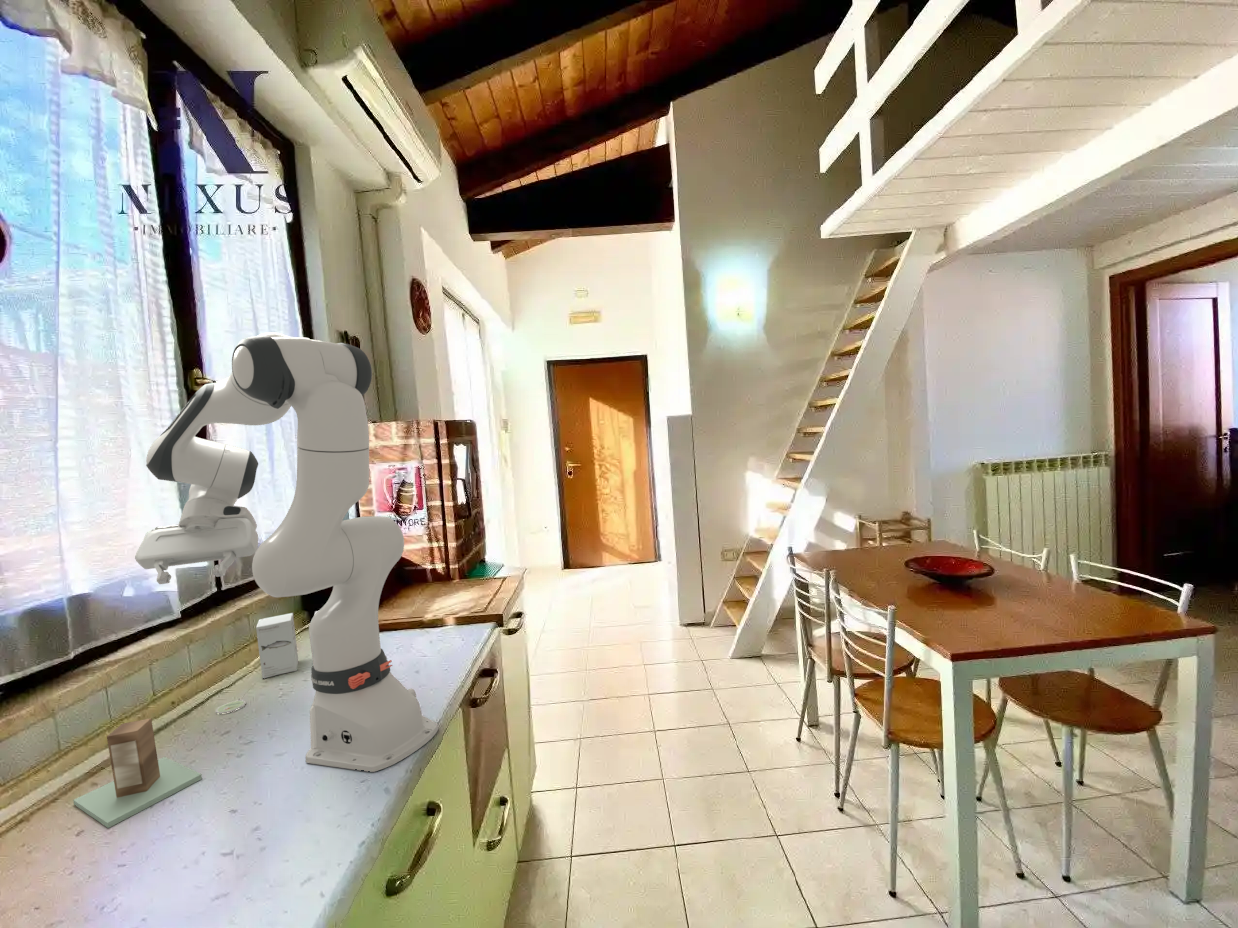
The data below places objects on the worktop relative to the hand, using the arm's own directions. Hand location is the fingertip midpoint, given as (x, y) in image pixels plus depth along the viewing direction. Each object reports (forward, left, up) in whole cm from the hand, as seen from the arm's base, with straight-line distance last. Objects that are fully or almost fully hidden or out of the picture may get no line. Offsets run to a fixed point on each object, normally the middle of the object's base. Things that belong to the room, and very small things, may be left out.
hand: (191, 578), depth 108 cm
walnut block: (-14, +17, -29) cm, 36 cm away
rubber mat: (-14, +17, -29) cm, 36 cm away
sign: (+6, -9, -30) cm, 32 cm away
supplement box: (+12, -20, -30) cm, 38 cm away
